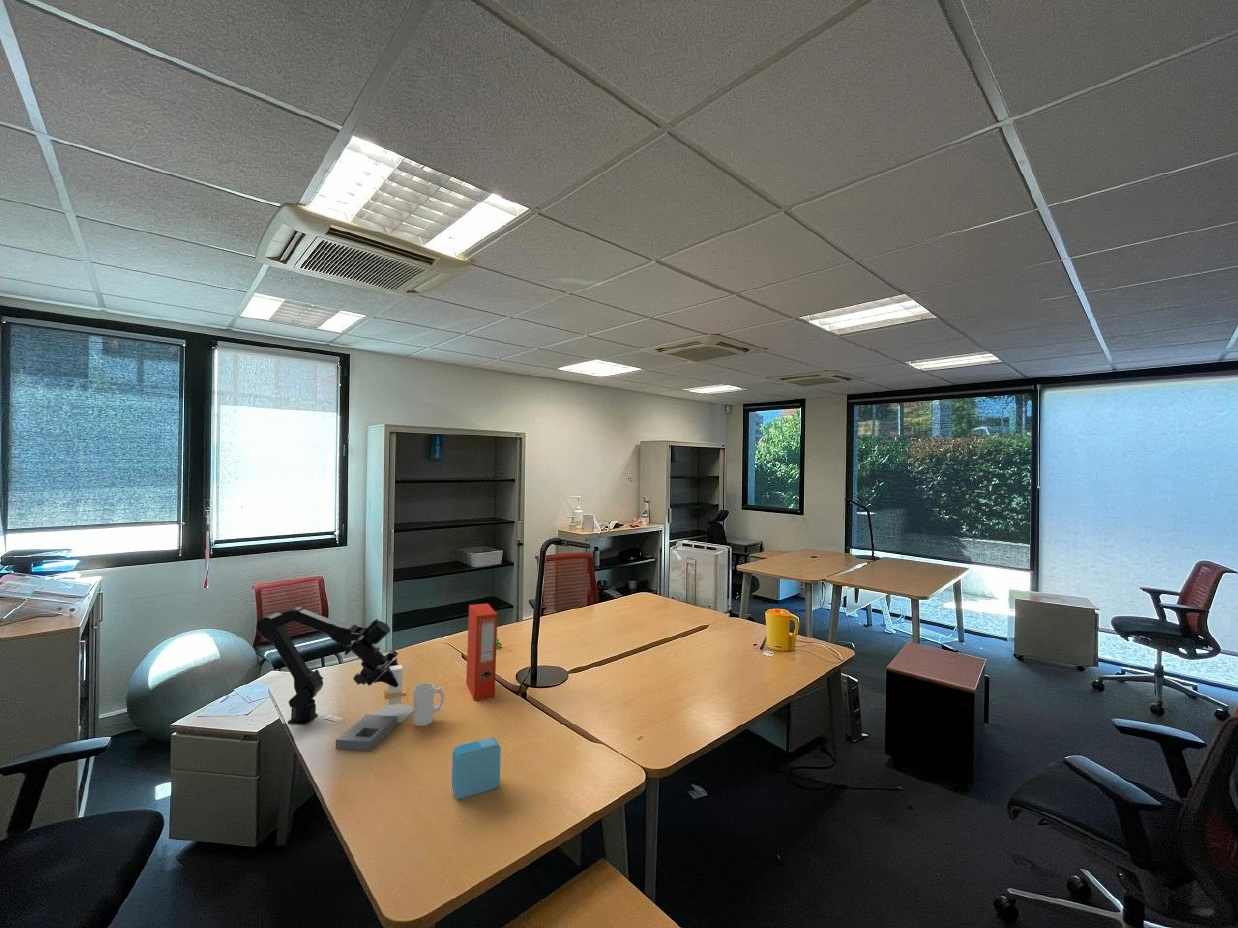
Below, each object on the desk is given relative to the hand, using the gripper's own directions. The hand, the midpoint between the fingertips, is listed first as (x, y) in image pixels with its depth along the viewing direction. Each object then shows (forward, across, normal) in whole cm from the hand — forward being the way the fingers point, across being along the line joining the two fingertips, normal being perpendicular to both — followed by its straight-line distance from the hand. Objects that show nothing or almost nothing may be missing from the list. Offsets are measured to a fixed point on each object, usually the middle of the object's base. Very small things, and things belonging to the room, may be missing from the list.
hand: (399, 683), depth 174 cm
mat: (+7, 0, -9) cm, 11 cm away
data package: (+31, +46, +15) cm, 58 cm away
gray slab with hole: (+4, +14, -12) cm, 19 cm away
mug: (+16, +6, 0) cm, 17 cm away
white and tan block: (+4, 0, -6) cm, 7 cm away
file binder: (+26, -17, +11) cm, 33 cm away
